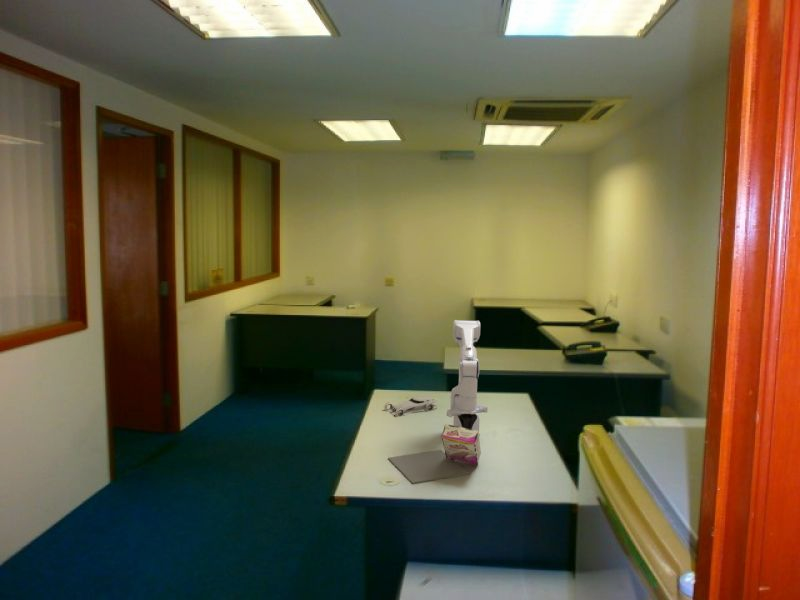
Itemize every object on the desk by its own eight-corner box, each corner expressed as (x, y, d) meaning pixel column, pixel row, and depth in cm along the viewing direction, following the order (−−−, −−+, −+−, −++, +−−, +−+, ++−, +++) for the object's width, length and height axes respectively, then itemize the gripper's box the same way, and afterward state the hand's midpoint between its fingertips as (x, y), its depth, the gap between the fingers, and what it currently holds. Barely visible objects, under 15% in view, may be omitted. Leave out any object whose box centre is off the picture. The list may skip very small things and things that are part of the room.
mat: (440, 451, 199) (440, 449, 199) (469, 474, 181) (469, 472, 181) (388, 459, 191) (388, 457, 191) (412, 484, 173) (412, 482, 173)
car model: (382, 410, 242) (382, 399, 241) (427, 402, 255) (428, 391, 255) (396, 418, 233) (396, 406, 232) (443, 409, 246) (443, 398, 246)
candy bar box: (445, 459, 191) (440, 436, 178) (449, 445, 194) (444, 422, 181) (478, 466, 187) (475, 444, 175) (481, 452, 190) (478, 429, 178)
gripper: (454, 401, 182) (453, 441, 184) (493, 396, 188) (491, 436, 190) (444, 395, 188) (443, 434, 190) (481, 391, 194) (480, 429, 196)
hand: (466, 434), depth 190 cm, fingers closed
